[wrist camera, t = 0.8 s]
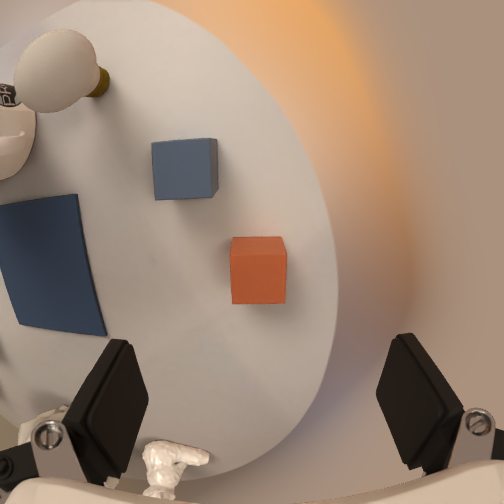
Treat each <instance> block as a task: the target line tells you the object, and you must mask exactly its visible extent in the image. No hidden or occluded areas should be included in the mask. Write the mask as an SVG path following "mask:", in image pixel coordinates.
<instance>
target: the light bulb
mask: <svg viewBox="0 0 504 504" xmlns="http://www.w3.org/2000/svg"><path fill="white" fill-rule="evenodd" d="M109 81H110V77H109V74H108V72H107V71H106V70H105V69H103V68H101V67H99V66H98V64H97V63H96V54H95V51H94V48H93V46H92V44H91V42H90V41H89V40H88V39H87V38H86V37H85V36H83V35H82V34H80V33H78V32H76V31H73V30H65V29H62V30H55V31H51V32H48V33H46V34H44V35H42V36H40V37H39V38H37V39H36V40H34V41H33V42H32V43H31V44H30V45H29V46H28V47H27V48H26V49H25V51H24V52H23V53H22V55H21V57H20V59H19V61H18V63H17V65H16V69H15V74H14V86H15V91H16V93H17V96H18V98H19V99H20V101H21V102H22V103H23V104H24V105H25V106H26V107H28V108H29V109H31V110H33V111H36V112H40V113H53V112H58V111H61V110H63V109H66V108H67V107H69V106H71V105H72V104H74V103H75V102H77V101H78V100H79V99H80V98H81V97H84V96H85V97H98V96H100V95H101V94H103V93H104V92H105V91H106V89H107V87H108V85H109Z"/></svg>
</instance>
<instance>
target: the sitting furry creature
mask: <svg viewBox="0 0 504 504" xmlns="http://www.w3.org/2000/svg"><path fill="white" fill-rule="evenodd" d="M142 455H143V457H142V458H143V459H144V461H145V463H146V467H147V470H148V471H147V480H148V483H149V484H150V485H151V486H150V487H149V488H148V489H146V490H145V491H144V493H143V494H142V495H144V496H149V497H155V498H161V499H167V500H174V498H175V497H176V496H175V495H174V491H175V490H174V487H175V486H176V485H177V484H178V482H179V480H180V477H181V475H182V473H183V469H185V468H186V465H188V464H189V465H197V466H200V465H204V464H207V462H208V461H209V453H208V452H206V451H204V450H201V449H200V448H199V449H197V448H193V447H189V446H185V445H180V444H177V443H172V442H168V441H164V440H162V441H161V440H159V441H153V442H152V443H149V444H147V445H146V446H145V449H144V452H143V454H142Z"/></svg>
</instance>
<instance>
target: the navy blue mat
mask: <svg viewBox="0 0 504 504" xmlns="http://www.w3.org/2000/svg"><path fill="white" fill-rule="evenodd" d="M0 268H1V272H2V275H3V279H4V282H5V285H6V288H7V291H8V294H9V297H10V300H11V303H12V306H13V309H14V312H15V314H16V317H17V319H18V322H19V324H21V325H26V326H32V327H38V328H44V329H50V330H57V331H64V332H71V333H79V334H87V335H96V336H107V332H106V329H105V326H104V322H103V319H102V315H101V312H100V308H99V304H98V301H97V297H96V293H95V289H94V285H93V280H92V276H91V272H90V267H89V262H88V258H87V253H86V247H85V242H84V236H83V231H82V224H81V218H80V211H79V204H78V196H77V194H71V195H63V196H56V197H49V198H42V199H36V200H29V201H23V202H17V203H11V204H6V205H0Z"/></svg>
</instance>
